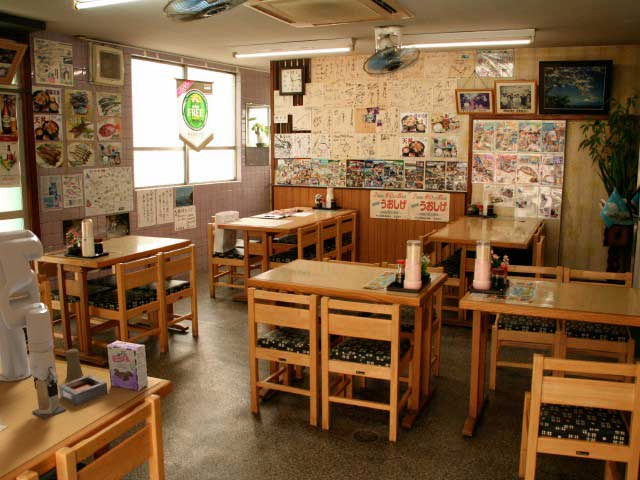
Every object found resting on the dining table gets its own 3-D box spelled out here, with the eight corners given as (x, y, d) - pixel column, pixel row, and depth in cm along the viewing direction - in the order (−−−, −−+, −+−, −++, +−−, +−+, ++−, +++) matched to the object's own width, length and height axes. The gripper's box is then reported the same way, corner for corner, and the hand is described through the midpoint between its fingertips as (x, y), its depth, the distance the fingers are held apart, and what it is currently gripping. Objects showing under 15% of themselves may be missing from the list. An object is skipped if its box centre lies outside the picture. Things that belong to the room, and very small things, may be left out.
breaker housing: (59, 397, 220) (58, 385, 219) (90, 385, 229) (89, 374, 228) (76, 406, 212) (75, 394, 211) (107, 394, 221) (106, 382, 221)
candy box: (110, 386, 228) (105, 344, 225) (121, 380, 234) (117, 339, 231) (138, 391, 223) (134, 349, 219) (149, 385, 228) (145, 344, 225)
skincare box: (48, 405, 212) (44, 373, 210) (60, 405, 212) (56, 373, 209) (38, 414, 206) (34, 380, 203) (50, 414, 205) (46, 380, 203)
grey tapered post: (77, 379, 235) (74, 353, 233) (63, 378, 236) (60, 352, 234) (86, 373, 241) (83, 347, 239) (72, 372, 242) (69, 346, 240)
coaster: (32, 412, 209) (32, 411, 208) (55, 404, 215) (54, 402, 214) (43, 419, 203) (43, 417, 203) (66, 410, 209) (66, 408, 209)
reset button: (70, 395, 220) (69, 390, 220) (88, 389, 226) (87, 384, 225) (80, 400, 216) (79, 395, 215) (98, 394, 221) (97, 388, 221)
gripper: (18, 342, 207) (24, 388, 211) (42, 354, 196) (47, 402, 200) (40, 336, 213) (45, 381, 216) (64, 347, 202) (69, 394, 205)
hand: (46, 391), depth 208 cm, fingers open, 9 cm apart
